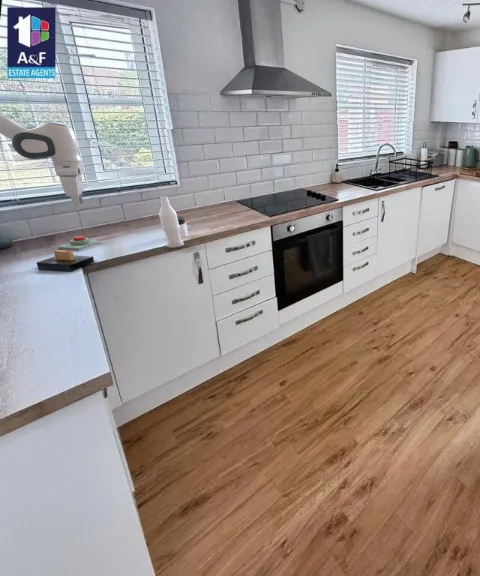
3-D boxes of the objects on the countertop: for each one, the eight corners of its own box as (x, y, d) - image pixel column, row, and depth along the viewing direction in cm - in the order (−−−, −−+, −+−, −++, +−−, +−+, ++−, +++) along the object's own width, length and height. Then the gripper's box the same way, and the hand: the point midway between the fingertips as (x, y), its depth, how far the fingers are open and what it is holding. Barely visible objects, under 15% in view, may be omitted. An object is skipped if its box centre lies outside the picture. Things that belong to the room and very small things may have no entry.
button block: (59, 251, 167) (56, 242, 165) (83, 243, 179) (81, 235, 177) (79, 252, 166) (77, 244, 164) (102, 245, 178) (100, 236, 176)
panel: (38, 269, 144) (36, 262, 143) (63, 261, 155) (61, 254, 153) (71, 272, 143) (69, 264, 142) (94, 263, 154) (92, 256, 152)
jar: (174, 239, 191) (169, 216, 186) (191, 238, 193) (186, 215, 188) (168, 244, 183) (162, 221, 178) (186, 243, 185) (180, 220, 180)
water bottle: (171, 253, 170) (157, 199, 159) (165, 250, 174) (152, 197, 164) (187, 250, 175) (175, 197, 164) (181, 246, 179) (169, 194, 168)
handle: (55, 259, 147) (53, 250, 146) (59, 258, 149) (57, 249, 148) (70, 260, 147) (68, 251, 145) (74, 259, 148) (72, 250, 147)
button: (71, 241, 169) (70, 237, 169) (79, 239, 173) (78, 235, 172) (79, 241, 169) (78, 238, 168) (87, 239, 173) (86, 236, 172)
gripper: (63, 166, 147) (72, 201, 152) (54, 171, 131) (65, 210, 136) (83, 166, 150) (91, 201, 155) (76, 171, 134) (86, 209, 139)
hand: (79, 205), depth 146 cm, fingers open, 8 cm apart
